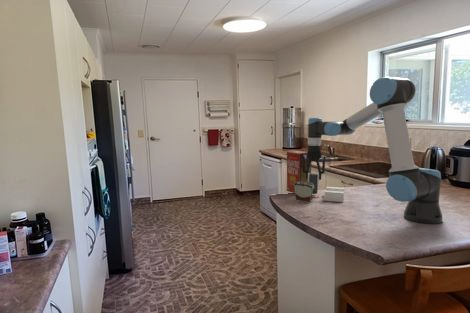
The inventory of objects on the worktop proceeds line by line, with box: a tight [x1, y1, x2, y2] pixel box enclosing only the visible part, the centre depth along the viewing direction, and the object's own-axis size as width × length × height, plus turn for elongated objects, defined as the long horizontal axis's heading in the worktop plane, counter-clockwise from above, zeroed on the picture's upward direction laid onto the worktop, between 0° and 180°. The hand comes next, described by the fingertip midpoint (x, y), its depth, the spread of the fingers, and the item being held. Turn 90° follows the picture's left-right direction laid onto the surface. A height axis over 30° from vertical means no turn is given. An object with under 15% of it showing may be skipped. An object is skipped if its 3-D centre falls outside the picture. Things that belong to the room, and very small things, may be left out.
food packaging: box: [286, 150, 312, 194], centre depth 196 cm, size 13×9×25 cm
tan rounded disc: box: [312, 193, 320, 199], centre depth 187 cm, size 7×7×1 cm
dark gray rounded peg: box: [309, 173, 319, 195], centre depth 186 cm, size 5×5×11 cm
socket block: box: [323, 186, 346, 203], centre depth 182 cm, size 13×10×5 cm
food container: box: [293, 181, 314, 204], centre depth 178 cm, size 12×6×10 cm, turn 47°
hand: (313, 184), depth 186 cm, fingers closed on dark gray rounded peg, 5 cm apart
